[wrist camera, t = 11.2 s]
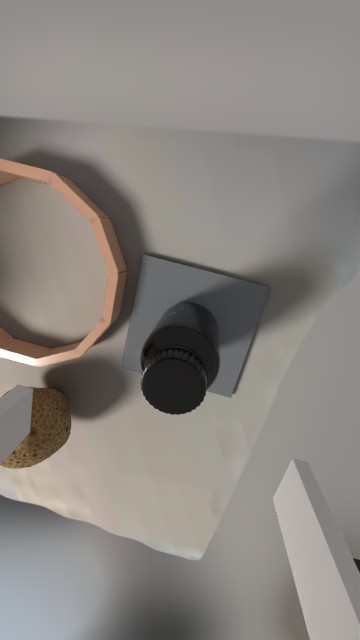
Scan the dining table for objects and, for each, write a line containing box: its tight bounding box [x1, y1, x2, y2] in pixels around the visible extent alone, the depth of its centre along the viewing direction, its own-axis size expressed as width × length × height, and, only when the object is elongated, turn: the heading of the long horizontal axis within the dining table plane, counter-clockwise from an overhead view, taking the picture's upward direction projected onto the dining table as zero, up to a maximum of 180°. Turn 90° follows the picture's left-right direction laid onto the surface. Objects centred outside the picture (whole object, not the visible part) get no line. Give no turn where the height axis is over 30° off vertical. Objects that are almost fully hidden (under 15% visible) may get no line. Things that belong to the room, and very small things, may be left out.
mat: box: [121, 254, 270, 398], centre depth 30 cm, size 14×14×1 cm
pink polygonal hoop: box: [0, 158, 127, 367], centre depth 28 cm, size 21×21×3 cm
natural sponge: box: [1, 387, 71, 469], centre depth 30 cm, size 9×9×10 cm
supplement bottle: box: [140, 302, 220, 415], centre depth 24 cm, size 7×7×12 cm
